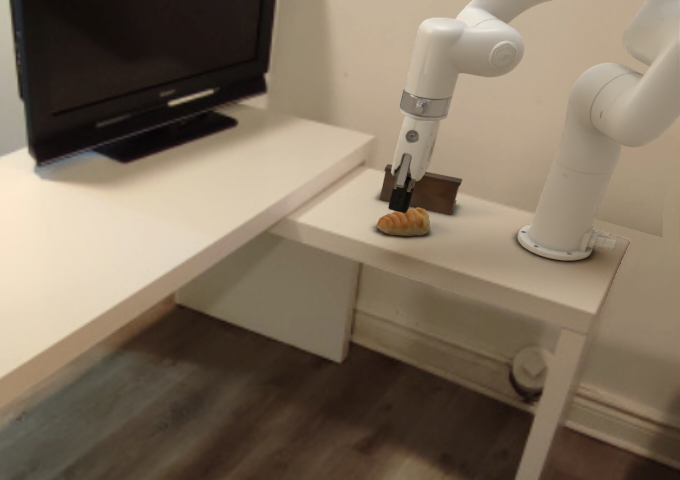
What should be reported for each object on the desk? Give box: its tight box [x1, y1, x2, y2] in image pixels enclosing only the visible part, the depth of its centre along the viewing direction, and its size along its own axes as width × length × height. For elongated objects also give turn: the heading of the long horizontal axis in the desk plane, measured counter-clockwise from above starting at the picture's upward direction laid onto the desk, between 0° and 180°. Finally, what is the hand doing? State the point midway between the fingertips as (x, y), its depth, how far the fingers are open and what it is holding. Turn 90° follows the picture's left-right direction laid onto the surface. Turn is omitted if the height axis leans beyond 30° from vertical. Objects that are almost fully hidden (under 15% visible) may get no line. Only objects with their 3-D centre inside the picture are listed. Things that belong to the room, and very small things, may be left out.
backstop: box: [379, 163, 463, 215], centre depth 156 cm, size 14×5×7 cm, turn 62°
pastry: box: [376, 207, 431, 237], centre depth 148 cm, size 9×7×4 cm
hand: (398, 209), depth 137 cm, fingers closed
